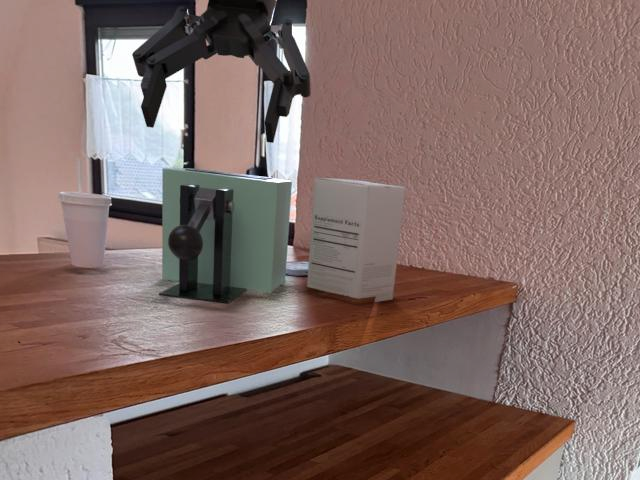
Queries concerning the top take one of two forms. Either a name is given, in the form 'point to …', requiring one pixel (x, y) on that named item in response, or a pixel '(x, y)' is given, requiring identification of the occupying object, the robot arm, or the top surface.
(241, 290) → the lever bracket
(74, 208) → the smoothie
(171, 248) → the lever
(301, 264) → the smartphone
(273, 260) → the grey-green box
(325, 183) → the rectangular carton
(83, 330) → the top surface
